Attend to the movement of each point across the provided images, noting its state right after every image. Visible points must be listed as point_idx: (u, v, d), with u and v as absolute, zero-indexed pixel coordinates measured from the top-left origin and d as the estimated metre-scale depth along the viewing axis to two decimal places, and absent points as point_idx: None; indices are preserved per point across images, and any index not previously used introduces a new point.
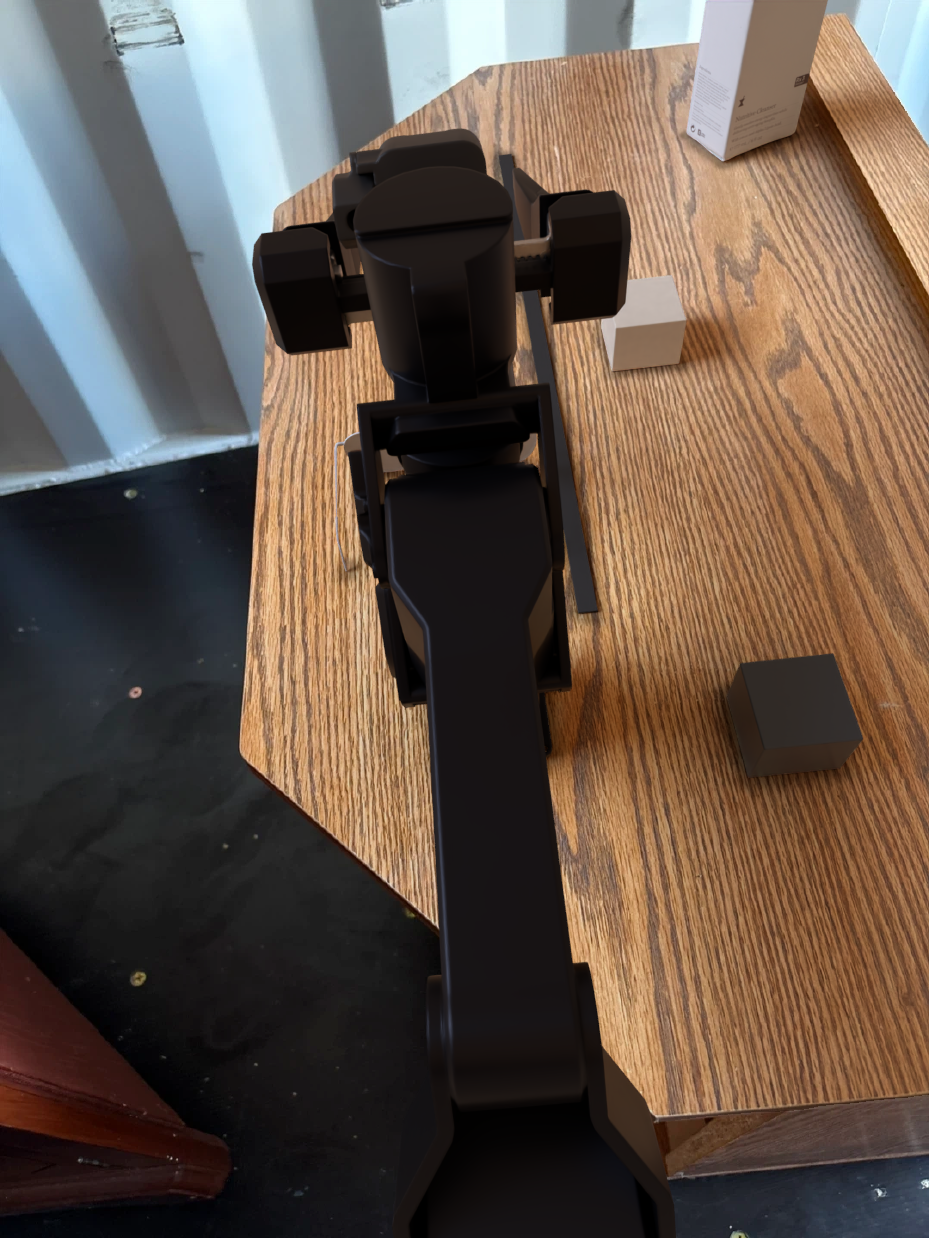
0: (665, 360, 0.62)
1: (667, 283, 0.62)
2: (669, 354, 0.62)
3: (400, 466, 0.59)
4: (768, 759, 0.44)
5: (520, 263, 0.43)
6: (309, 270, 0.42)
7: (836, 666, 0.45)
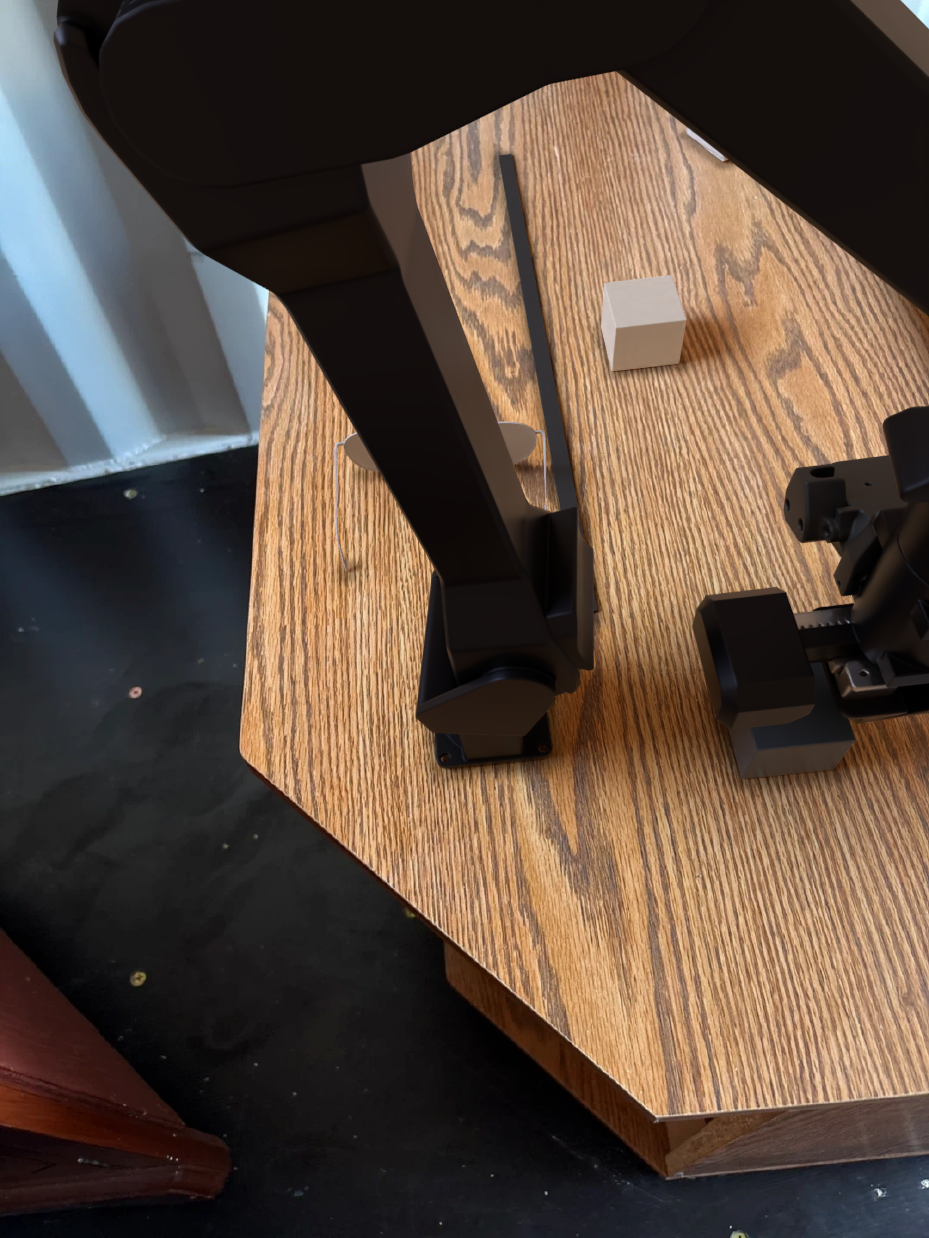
0: (665, 360, 0.62)
1: (667, 283, 0.62)
2: (669, 354, 0.62)
3: None
4: (761, 761, 0.44)
5: None
6: (762, 593, 0.39)
7: None
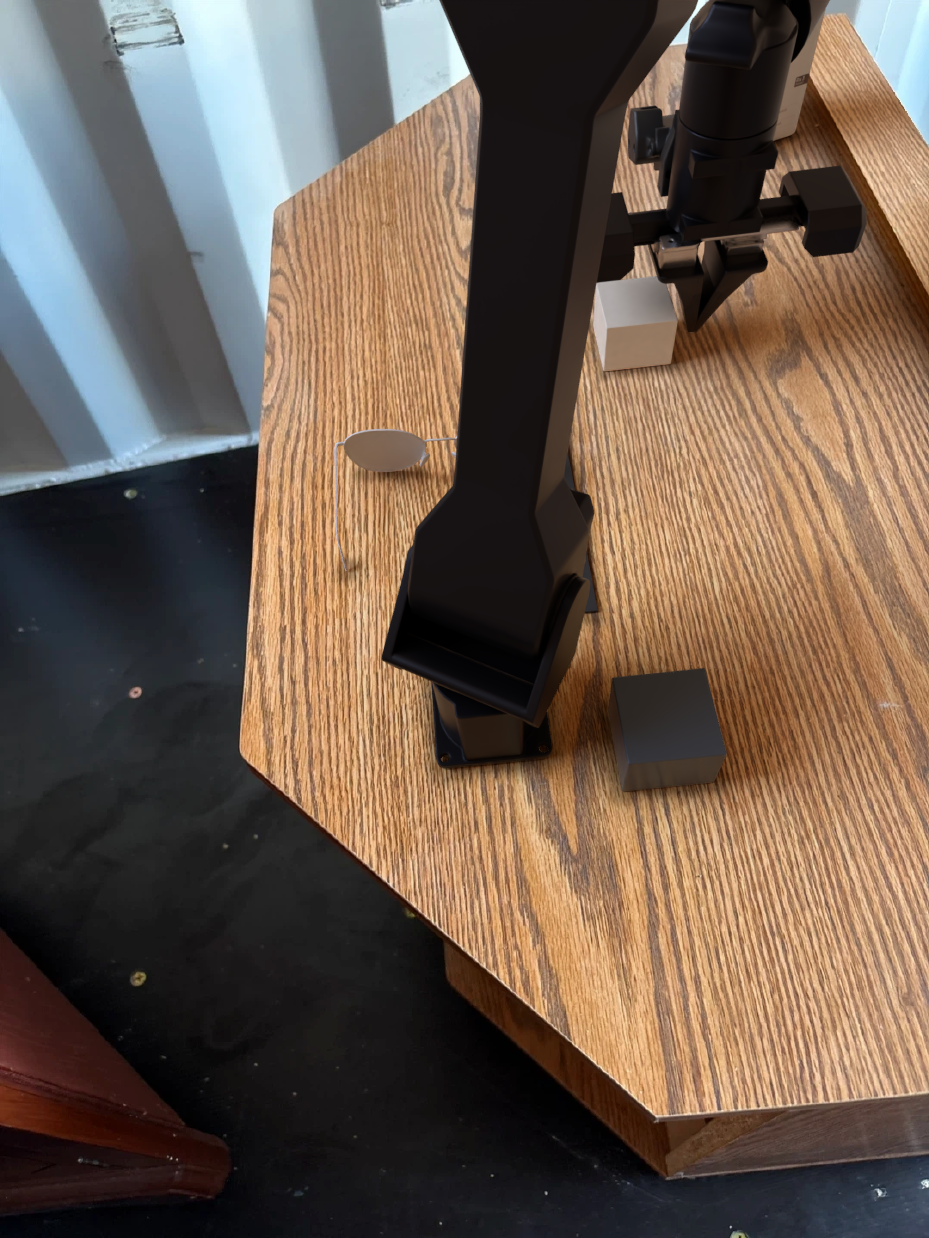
0: (656, 360, 0.62)
1: (659, 283, 0.62)
2: (661, 354, 0.62)
3: (400, 465, 0.59)
4: (636, 774, 0.44)
5: None
6: None
7: (706, 681, 0.45)
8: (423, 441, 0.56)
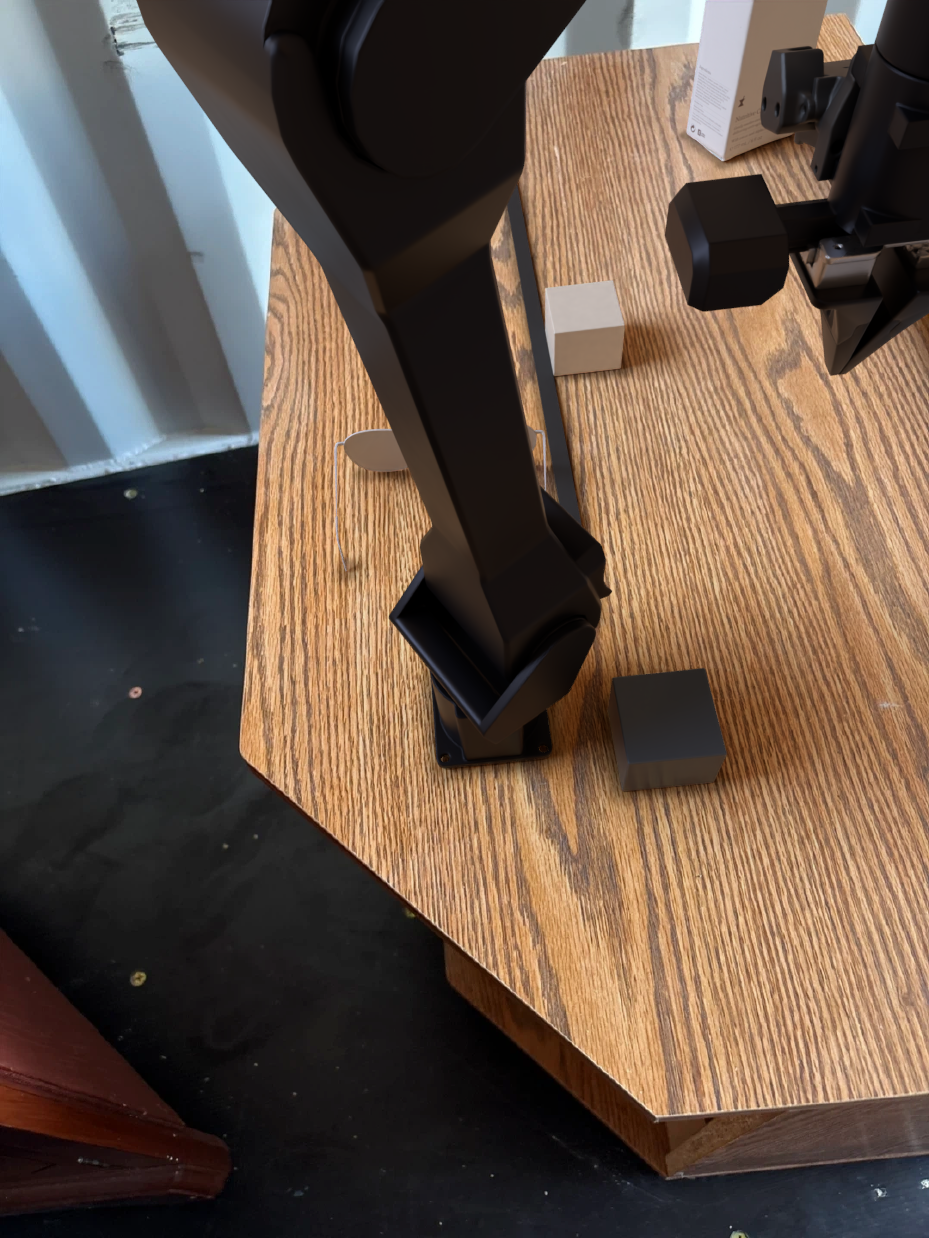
0: (606, 365, 0.63)
1: (607, 288, 0.62)
2: (610, 359, 0.62)
3: (400, 465, 0.59)
4: (636, 774, 0.44)
5: None
6: None
7: (706, 681, 0.45)
8: None
